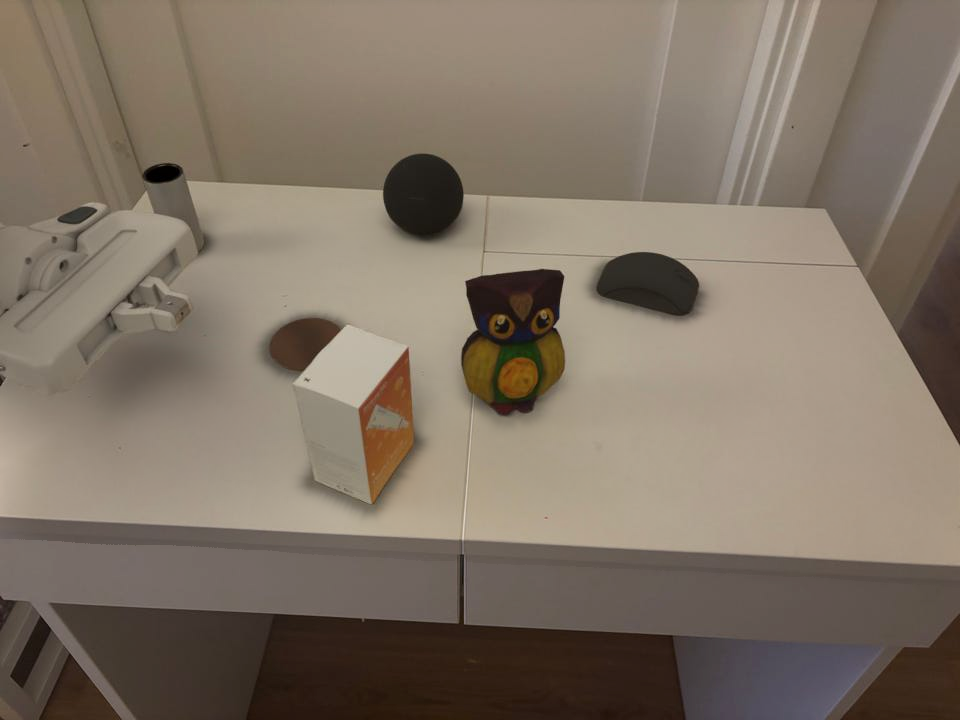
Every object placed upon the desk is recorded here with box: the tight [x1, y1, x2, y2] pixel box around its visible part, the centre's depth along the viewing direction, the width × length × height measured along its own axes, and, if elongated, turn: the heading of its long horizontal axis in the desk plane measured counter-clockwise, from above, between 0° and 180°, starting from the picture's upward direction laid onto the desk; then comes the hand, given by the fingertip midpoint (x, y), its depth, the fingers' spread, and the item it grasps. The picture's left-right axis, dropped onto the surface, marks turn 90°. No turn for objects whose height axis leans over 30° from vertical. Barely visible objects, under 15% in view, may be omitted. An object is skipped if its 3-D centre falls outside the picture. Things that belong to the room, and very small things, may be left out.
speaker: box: [382, 152, 465, 237], centre depth 93 cm, size 10×10×10 cm
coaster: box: [269, 317, 342, 372], centre depth 81 cm, size 8×8×1 cm
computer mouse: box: [596, 251, 700, 317], centre depth 87 cm, size 6×11×4 cm, turn 68°
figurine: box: [460, 268, 566, 416], centre depth 70 cm, size 10×7×15 cm
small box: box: [292, 324, 415, 505], centre depth 65 cm, size 8×6×13 cm
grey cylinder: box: [141, 162, 205, 252], centre depth 89 cm, size 4×4×10 cm
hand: (182, 313), depth 62 cm, fingers closed
